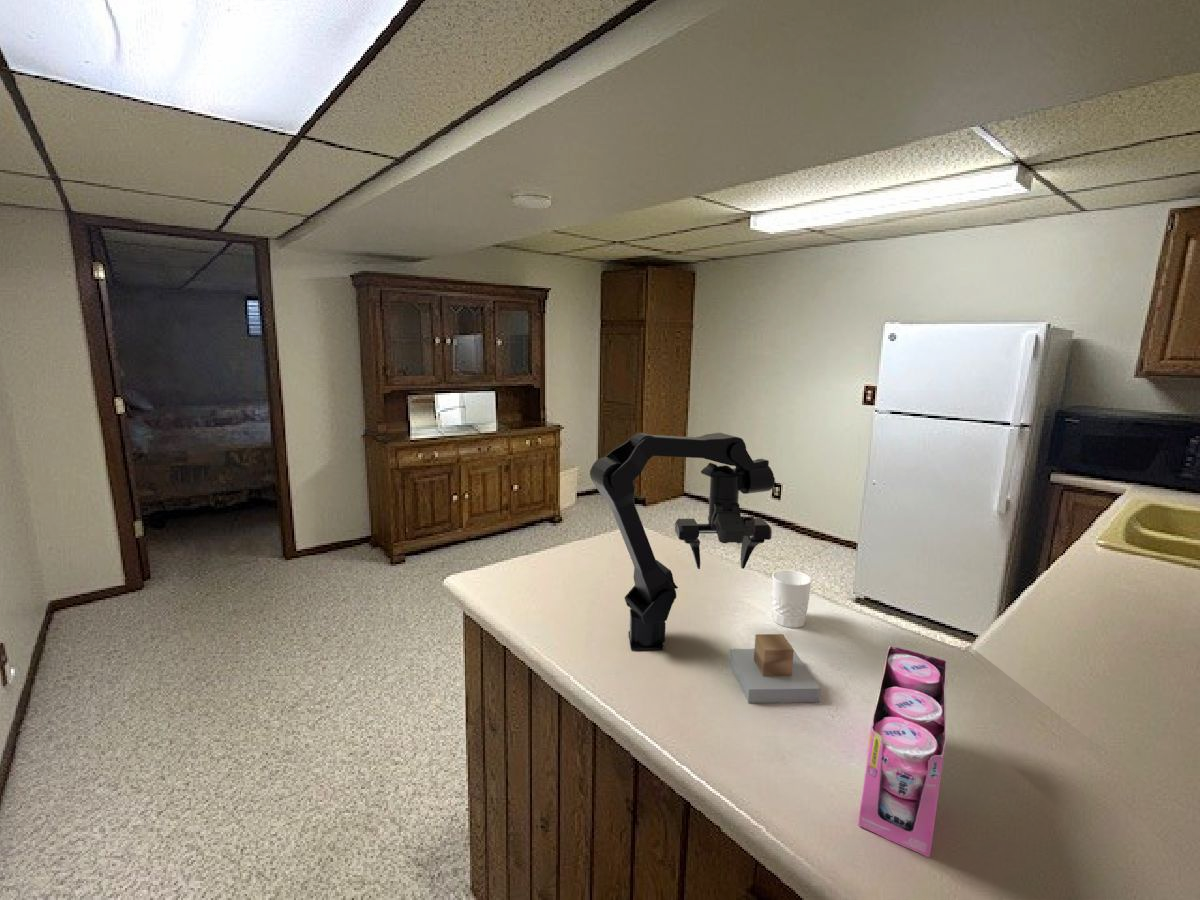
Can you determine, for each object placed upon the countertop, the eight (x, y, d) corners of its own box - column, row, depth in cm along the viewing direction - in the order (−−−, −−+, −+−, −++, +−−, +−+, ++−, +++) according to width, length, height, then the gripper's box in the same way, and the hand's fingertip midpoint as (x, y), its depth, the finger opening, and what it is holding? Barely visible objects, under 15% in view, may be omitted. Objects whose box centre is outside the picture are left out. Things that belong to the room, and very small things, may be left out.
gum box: (931, 870, 60) (946, 766, 57) (854, 835, 64) (865, 736, 62) (937, 742, 80) (948, 660, 77) (878, 721, 84) (887, 643, 81)
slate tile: (748, 702, 88) (749, 689, 88) (729, 661, 100) (729, 648, 99) (819, 701, 88) (820, 688, 88) (792, 660, 100) (793, 648, 100)
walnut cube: (762, 676, 91) (764, 649, 90) (753, 659, 96) (755, 634, 95) (791, 675, 91) (793, 649, 90) (781, 659, 96) (783, 634, 95)
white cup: (810, 631, 110) (814, 586, 109) (771, 627, 112) (774, 583, 110) (804, 613, 118) (807, 571, 116) (767, 609, 120) (770, 568, 118)
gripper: (685, 507, 99) (682, 585, 102) (784, 507, 100) (778, 584, 103) (675, 491, 110) (673, 562, 113) (764, 491, 111) (760, 562, 113)
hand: (720, 568), depth 110 cm, fingers open, 9 cm apart
